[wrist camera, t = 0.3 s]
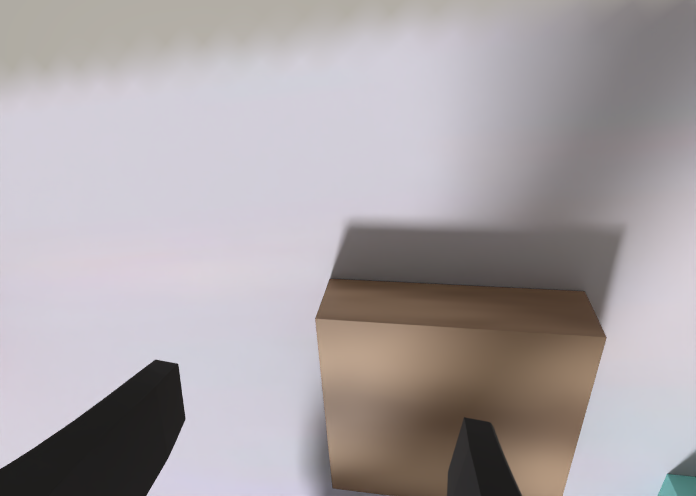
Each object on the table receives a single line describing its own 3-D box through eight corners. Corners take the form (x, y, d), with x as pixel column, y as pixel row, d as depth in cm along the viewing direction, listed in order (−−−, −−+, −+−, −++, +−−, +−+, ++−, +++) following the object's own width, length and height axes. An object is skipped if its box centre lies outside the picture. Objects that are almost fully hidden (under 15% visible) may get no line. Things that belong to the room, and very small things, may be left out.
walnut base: (544, 461, 25) (556, 516, 23) (342, 440, 27) (332, 488, 25) (584, 291, 20) (606, 337, 17) (329, 278, 22) (315, 318, 19)
